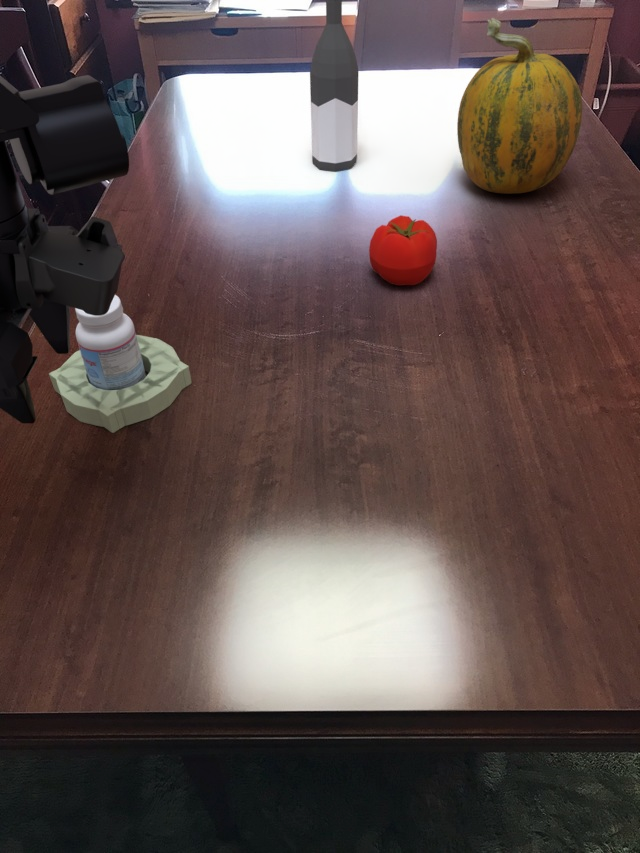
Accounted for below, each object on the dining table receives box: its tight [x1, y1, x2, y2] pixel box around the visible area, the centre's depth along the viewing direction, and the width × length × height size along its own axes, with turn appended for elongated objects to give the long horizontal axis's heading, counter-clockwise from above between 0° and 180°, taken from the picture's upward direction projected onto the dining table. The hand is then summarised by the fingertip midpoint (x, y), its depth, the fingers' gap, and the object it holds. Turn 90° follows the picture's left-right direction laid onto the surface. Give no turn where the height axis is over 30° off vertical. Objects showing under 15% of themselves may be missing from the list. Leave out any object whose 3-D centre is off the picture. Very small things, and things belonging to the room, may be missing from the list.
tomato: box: [368, 215, 438, 286], centre depth 93 cm, size 9×9×8 cm
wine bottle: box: [309, 0, 359, 173], centre depth 114 cm, size 8×8×30 cm
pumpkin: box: [456, 17, 583, 195], centre depth 108 cm, size 19×19×25 cm
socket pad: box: [48, 334, 193, 434], centre depth 78 cm, size 13×13×2 cm
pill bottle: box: [74, 294, 147, 390], centre depth 74 cm, size 6×6×11 cm
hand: (47, 385), depth 58 cm, fingers open, 9 cm apart
